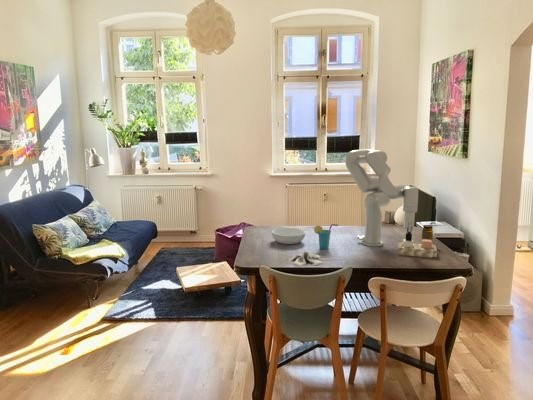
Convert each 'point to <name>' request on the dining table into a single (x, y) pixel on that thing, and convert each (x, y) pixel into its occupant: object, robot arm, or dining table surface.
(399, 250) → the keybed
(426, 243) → the terracotta key
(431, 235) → the condiment
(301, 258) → the cloth
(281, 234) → the serving bowl
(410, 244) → the ivory key
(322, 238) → the cup
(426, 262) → the dining table surface
